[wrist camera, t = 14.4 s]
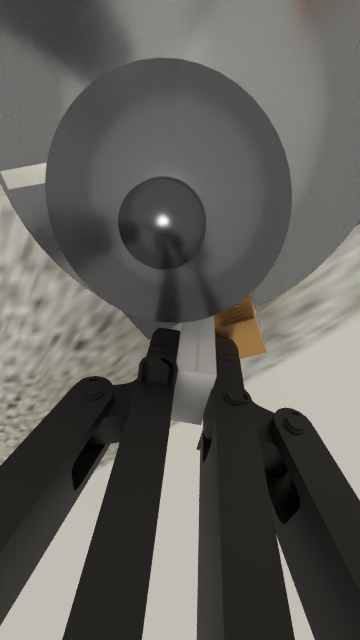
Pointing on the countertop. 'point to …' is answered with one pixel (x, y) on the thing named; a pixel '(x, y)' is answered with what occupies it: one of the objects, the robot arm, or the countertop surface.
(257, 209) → the cover
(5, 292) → the countertop surface
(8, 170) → the turntable
